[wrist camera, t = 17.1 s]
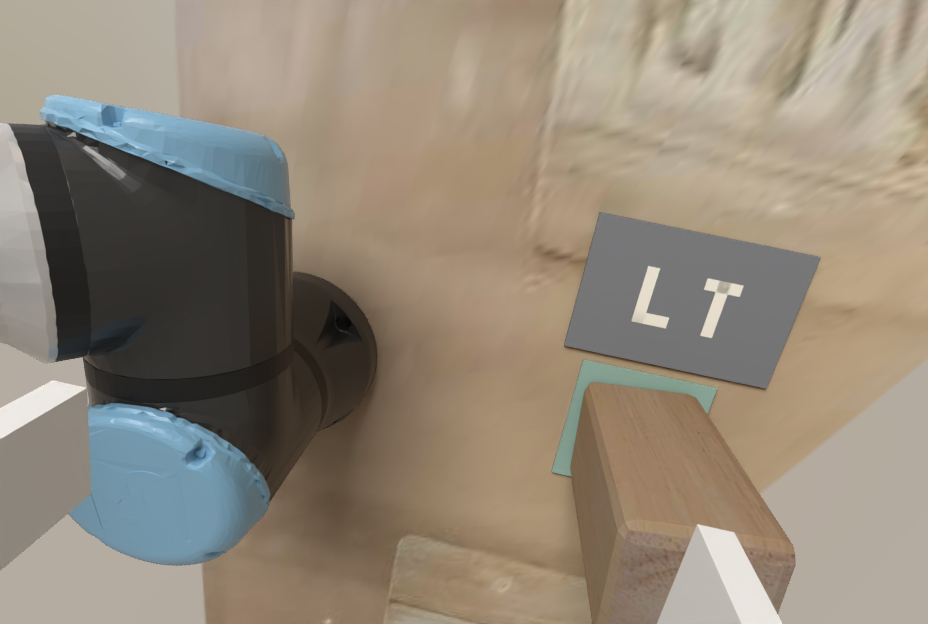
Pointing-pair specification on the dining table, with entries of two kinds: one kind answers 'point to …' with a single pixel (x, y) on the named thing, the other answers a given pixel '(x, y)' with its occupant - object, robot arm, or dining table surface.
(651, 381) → the pad
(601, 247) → the mat
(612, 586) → the wooden block
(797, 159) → the dining table surface
